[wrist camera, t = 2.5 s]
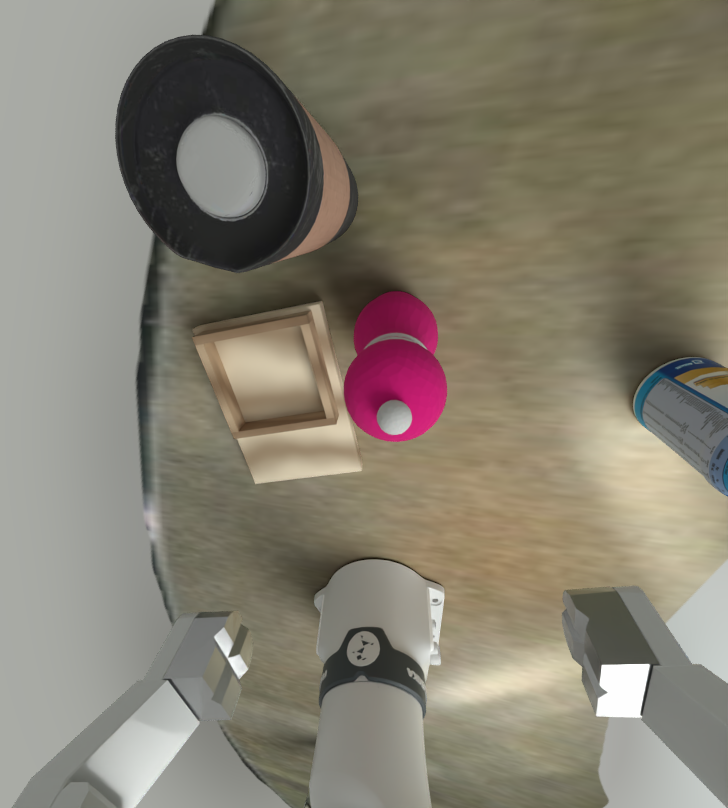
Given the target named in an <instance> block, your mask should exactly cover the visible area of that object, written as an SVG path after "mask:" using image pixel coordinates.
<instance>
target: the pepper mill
mask: <svg viewBox="0 0 728 808" xmlns="http://www.w3.org/2000/svg"><path fill="white" fill-rule="evenodd" d="M437 342H438V331H437V324H436V320H435V318H434V316H433V314H432V312H431V311H430V309H429V308H428V307H427V306H426V305H425V304H424V303H423V302H422V301H420V300H419V299H417V298H416V297H414V296H412V295H411V294H408V293H406V292H401V291H392V292H387V293H384V294H382V295H380V296H378V297H377V298H376V299H374V300H373V301H371V302H370V303H368V304H367V305H366V306H365V307H364V309H363V310H362V311H361V313H360V314H359V316H358V318H357V321H356V324H355V329H354V345H355V350H356V352H357V354H358V355H357V357H356V358H355V359H354V360H353V362H352V363H351V365H350V366H349V368H348V371H347V374H346V377H345V382H344V400H345V404H346V407H347V410H348V412H349V414H350V416H351V418H352V419H353V421H354V422H355V423H356V425H357V426H358V427H360V428H361V429H362V430H363V431H364V432H366V433H368V434H369V435H371V436H373V437H375V438H378V439H381V440H385V441H393V442H399V441H407V440H410V439H413V438H416V437H418V436H420V435H422V434H424V433H425V432H426V431H427V430H428V429H430V428H431V427H432V426H433V425H434V424H435V422H436V421H437V420H438V418H439V417H440V415H441V413H442V411H443V409H444V406H445V402H446V397H447V383H446V377H445V374H444V371H443V369H442V367H441V365H440V363H439V362H438V360H437V359H436V358H435V357H434V352H435V350H436V347H437Z"/></svg>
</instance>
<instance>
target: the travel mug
mask: <svg viewBox="0 0 728 808" xmlns="http://www.w3.org/2000/svg"><path fill="white" fill-rule="evenodd" d="M115 136H116V137H115V139H116V149H117V156H118V161H119V166H120V170H121V174H122V177H123V180H124V183H125V186H126V188H127V190H128V193H129V195H130V198H131V200H132V201H133V203H134V205H135V207H136V209H137V211H138V212H139V214H140V215H141V216H142V218H143V220H144V221H145V222H146V224H147V225H148V226H149V228H150V229H151V230H152V231H153V233H154V234H155V235H156V236H157V237H158V238H159V239H160V240H161V241H162V242H163V243H164V244H165V245H166V246H167V247H168V248H169V249H170V250H172V251H173V252H174V253H176V254H177V255H179V256H180V257H182V258H185V259H188V260H192V261H196V262H199V263H202V264H205V265H209V266H212V267H215V268H219V269H223V270H228V271H232V272H235V273H241V272H246V271H249V270H252V269H256V268H258V267H262V266H265V265H268V264H272V263H275V262H278V261H282V260H285V259H288V258H292V257H295V256H299V255H302V254H305V253H309V252H312V251H314V250H317V249H319V248H321V247H323V246H324V245H326V244H328V243H330V242H332V241H334V240H335V239H337V238H338V237H340V236H341V235H342V234H343V233H344V232H345V231H346V230H347V229H348V228H349V226H350V225H351V223H352V221H353V219H354V217H355V214H356V210H357V205H358V190H357V185H356V181H355V178H354V176H353V174H352V171H351V169H350V168H349V166H348V164H347V163H346V161H345V159H344V158H343V156H342V154H341V152H340V151H339V149H338V147H337V146H336V144H335V143H334V142H333V141H332V139H331V138H330V137H329V136H328V134H327V133H326V132H325V131H324V130H323V129H322V127H321V126H320V125H319V124H318V123H317V122H316V120H315V119H314V118H313V117H312V116H311V115H310V113H309V112H308V111H307V110H306V109H305V108H304V106H303V105H302V104H301V103H300V102H299V101H298V99H297V98H296V97H295V96H294V95H293V94H292V92H291V91H290V90H289V89H288V88H287V87H286V85H285V84H284V83H283V82H282V81H281V80H280V78H279V77H278V76H277V75H276V74H275V73H274V72H273V71H272V70H271V69H270V68H269V67H268V66H267V65H266V64H265V63H264V62H262V61H261V60H260V59H258V58H257V57H256V56H255V55H253V54H252V53H251V52H249V51H247V50H245V49H244V48H242V47H240V46H238V45H237V44H234V43H232V42H229V41H227V40H224V39H221V38H217V37H212V36H208V35H188V36H182V37H177V38H174V39H171V40H168V41H166V42H164V43H162V44H160V45H158V46H157V47H155V48H154V49H152V50H151V51H150V52H149V53H147V54H146V55H145V56H144V57H143V58H142V59H141V60H140V61H139V63H138V64H137V65H136V66H135V68H134V69H133V71H132V72H131V74H130V76H129V77H128V79H127V81H126V83H125V86H124V88H123V91H122V93H121V97H120V101H119V104H118V109H117V116H116V135H115Z"/></svg>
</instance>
